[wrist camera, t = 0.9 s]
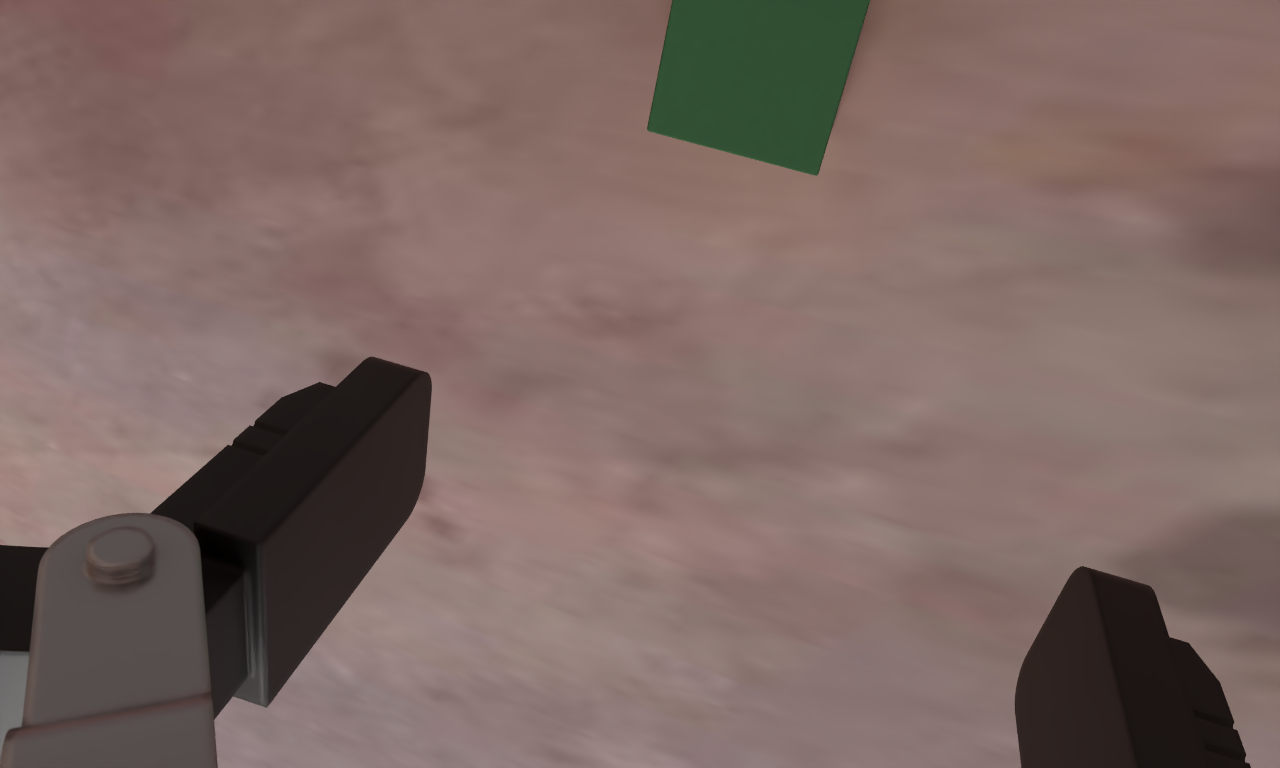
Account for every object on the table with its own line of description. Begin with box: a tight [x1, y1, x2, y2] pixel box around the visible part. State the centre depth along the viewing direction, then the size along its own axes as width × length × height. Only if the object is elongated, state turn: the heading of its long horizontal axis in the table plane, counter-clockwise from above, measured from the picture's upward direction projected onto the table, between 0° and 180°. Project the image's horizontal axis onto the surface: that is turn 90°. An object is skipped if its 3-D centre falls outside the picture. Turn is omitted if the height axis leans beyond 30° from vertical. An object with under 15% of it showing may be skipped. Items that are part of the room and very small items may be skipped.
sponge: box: [647, 0, 870, 175], centre depth 25 cm, size 6×4×4 cm
